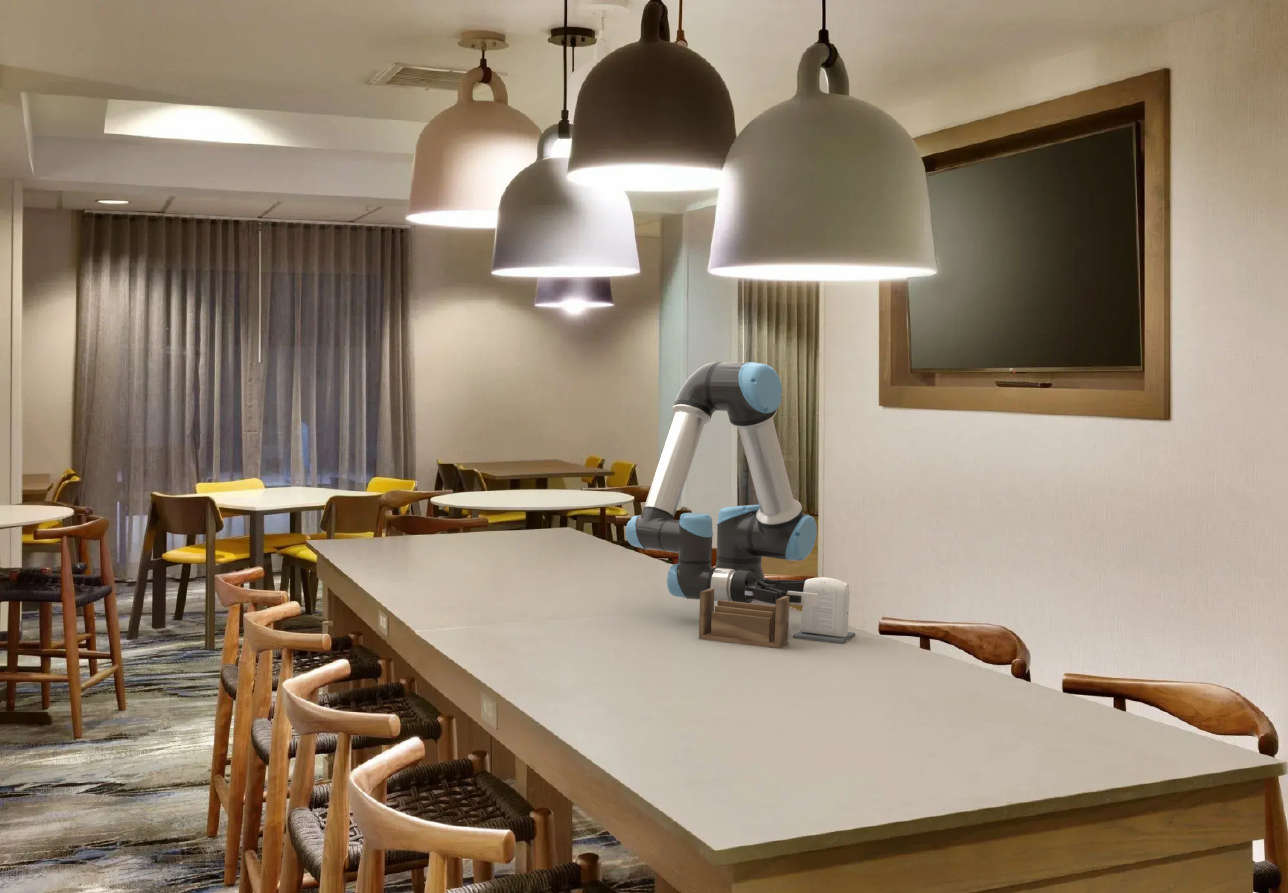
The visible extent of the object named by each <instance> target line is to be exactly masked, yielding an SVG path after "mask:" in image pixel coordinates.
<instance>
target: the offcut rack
mask: <svg viewBox="0 0 1288 893" xmlns="http://www.w3.org/2000/svg"><path fill="white" fill-rule="evenodd" d="M698 618H699V619H698V622H699V623H698V639H699V640H700V639H701V640H709V641H717V642H723V643H732V644H739V645H740V644H741V645H747V646H748V645H749V646H757V647H765V648H772V649H773V648H774V649H781V648H782V647H785V646H786V645H787V644H788V643H789V624H790V623H789V621H790V620H789V618H790V604H789V596H784V597H781V598H779V599H777V600H776V604H775V605H770V604H769V605H768V604H761V603H760V604H759V603H752V602H751V603H743V602H734V601H725V600H718V601H717V605H715V601H714V589H713V588H709V589H707V590H704V591H701V592H700V600H699V617H698Z"/></svg>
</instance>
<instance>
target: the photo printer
mask: <svg viewBox="0 0 1288 893" xmlns="http://www.w3.org/2000/svg"><path fill="white" fill-rule="evenodd" d="M806 579H807V580H805V583H804V588H803V592H805V593H815V594H818V601H817V607H812V606H802V611H801V612H802V613H801V628H800V629H801V630H800V631H802V632H805V633H813V634H821V635H828V636H836V637H847V635H848V632H849V630H848V629H849V615H850V614H849V612H850V609H849V608H850V587H849V584H848V583H847V582H845V581H842V580H840V579H837V578H832V577H824V576H820V577H813V578H812V577H811V578H806Z"/></svg>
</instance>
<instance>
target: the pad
mask: <svg viewBox="0 0 1288 893" xmlns="http://www.w3.org/2000/svg"><path fill="white" fill-rule="evenodd" d="M855 636H856V632H855V631H854V632H853V631H848V635H847V637H836V636H828V635H821V634H813V633H805V632H802V631H801V630H799V631H798V632H796V633H794V634H792V638H794V639H800V640H810V641H817V642H826V643H832V644H833V643H834V644H844V643H846V642H847V641H848V640H850V639H852V638H853V637H855Z"/></svg>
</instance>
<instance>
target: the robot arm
mask: <svg viewBox="0 0 1288 893" xmlns="http://www.w3.org/2000/svg"><path fill="white" fill-rule="evenodd" d="M782 393H783V388H782V381H781V379H780V376H779V375H778V373H777V372H776V370H775V369H774V368H773V367H772V366H770V365H768V364H766V363H759V362H754V361H749V362H721V361H714V362H710V363H706V364H704V365H702V366H700V367H699V368H698V369H696V370H695V371H694V372H693V373H692V374H691V375H690V376H689V377H688V378H687V379H686V380H685V382H684V384H683V385H682V387H681V388H680V390H679V391H678V393H677V396H676V398H675V400H674V402H673V406H672V412H673V414H674V416H673V419H672V422H671V424H670V429H669V431H668V434H667V437H666V440H665V443H664V447H663V449H662V453H661V455H660V458H659V461H658V465H657V468H656V470H655V474H654V475H653V479H652V482H651V486H650V488H649V491H648V494H647V498H646V501H645V504H644V505H643V509H642V511H641V514H639V515H634V516H631V517H630V520H628V522H627V523H626V526H625V537H626V540H627V542H628V543H629V544H630V545H631V546H633V547H635V548H640V549H643V550H646V551H647V550H651V551H653V550H654V551H662V552H668V553H675V554H678V563H675V564H674V563H673V564H672V565H671V566H670V568H668V569H669V570H668V571H667V574H668V575H667V576H666V587H667V590H668V592H669V594H670V595H672V596H673V597H677V598H678V597H679V598H684V599H687V600H692V599H693V600H699V601H700V592H701V591H704V590H707V589H709V588H713V589H714V602H718V600H725V601H734V602H743V603H752V602H753V600H755V601H759V602H762V603H763V602H764V603H768V604H772V605H776V600H777V599H779V598H781V597H784V596H789V605H793V606H795V605H796V606H802V607H803V606H812V607H817V601H818V594H815V593H805V592H803V588H804V583H805V580H807V579H808V578H803V580H801V579H795V580H794V579H768V578H766V577H765V575H764V574H765V573H764V571H763V570H764V569H763V567H762V557H763V558H771V559H778V560H785V561H788V562H790V561H797V562H798V561H804V560H805V559H807V557H809V555H811V553H812V550H813V549H814V546H815V543H816V539H817V533H818V532H817V531H818V530H817V528H818V526H817V522H816V519H815V518H814V517H813V516H811V515H809V514H805V513H804V510H803V506H802V504H801V502H800V501H798V500H797V499H795V498H794V495H793V492H792V488H791V485H790V481H789V477H788V473H787V469H786V465H785V461H784V457H783V453H782V449H781V446H780V442H779V438H778V434H777V430H776V427H775V426H776V425H775V422H774V420H773V419H774V417H775V416H776V414H777V413H778V412H777V410H778V408H779V406H780V405H781V402H782V395H781V394H782ZM716 411H723V412H726V413H727V416H728V419H729V423H730V424H731V425H732V426H733V427H737V429H738V432H739V435H740V439H741V443H742V447H743V450H744V454H745V457H746V460H747V465H748V468H749V472H750V475H751V479H752V483H753V486H754V490H755V494H756V498H757V501H758V504H749V505H748V504H747V505H737V506H736V505H735V506H734V505H733V506H725V507H722V508H720V509H719V511H718V516H717V523H716V526H717V530H716V531H717V532H716V563H715V567H713V566H712V556H713V555H712V553H713V536H714V532H713V518H712V516H711V515H710V514H707V513H702V512H701V513H700V512H699V513H698V512H683V513H682V514H680V515H679V519H674V518H675V514H676V513H677V509H678V506H679V502H680V500H681V496H682V494H683V490H684V487H685V484H686V482H687V479H688V476H689V472H690V469H691V466H692V465H693V464H692V463H693V461H694V457H695V454H696V451H697V448H698V445H699V443H700V439H701V436H702V432H703V429H704V428H705V425H706V424H708V423H710V422H711V419H712V415H713V414H714V413H715V412H716Z"/></svg>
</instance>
